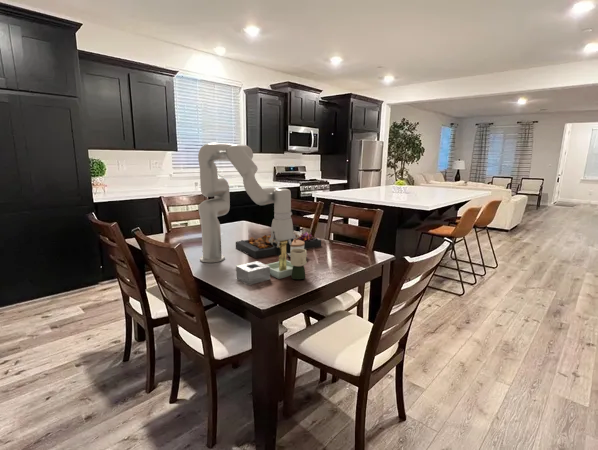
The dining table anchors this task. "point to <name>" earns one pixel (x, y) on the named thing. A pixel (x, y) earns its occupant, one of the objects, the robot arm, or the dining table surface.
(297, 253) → the character mug
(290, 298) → the dining table surface
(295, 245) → the lidded jar
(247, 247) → the food platter
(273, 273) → the tray
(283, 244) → the pin
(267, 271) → the white square-hole block
